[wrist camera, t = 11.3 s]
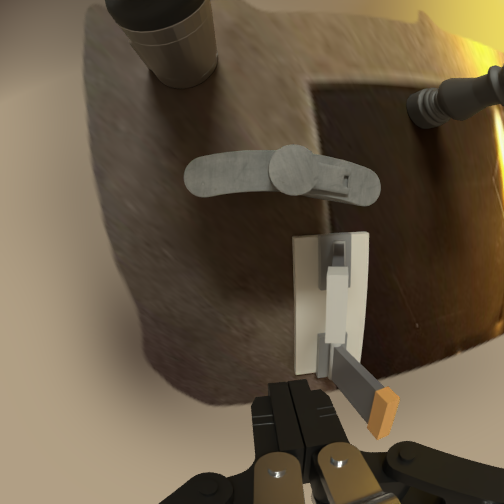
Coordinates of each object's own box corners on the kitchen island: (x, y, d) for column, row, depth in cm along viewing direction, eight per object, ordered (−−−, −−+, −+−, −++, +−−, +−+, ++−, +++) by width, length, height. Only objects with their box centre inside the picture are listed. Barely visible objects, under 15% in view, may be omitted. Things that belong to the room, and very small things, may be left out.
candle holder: (413, 131, 38) (538, 106, 14) (401, 94, 37) (516, 46, 13) (440, 126, 38) (558, 106, 14) (428, 91, 37) (539, 53, 13)
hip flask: (205, 193, 39) (176, 198, 20) (206, 162, 38) (179, 139, 19) (321, 198, 40) (394, 210, 21) (323, 169, 39) (396, 157, 20)
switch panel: (294, 371, 46) (297, 381, 43) (291, 234, 41) (296, 237, 38) (356, 361, 46) (362, 370, 44) (364, 229, 41) (372, 232, 39)
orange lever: (325, 376, 43) (376, 440, 28) (328, 341, 41) (387, 403, 26) (336, 373, 43) (388, 434, 28) (338, 339, 42) (400, 398, 27)
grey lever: (332, 285, 40) (324, 343, 25) (332, 239, 38) (326, 275, 24) (345, 285, 39) (344, 343, 25) (346, 239, 38) (348, 275, 23)
